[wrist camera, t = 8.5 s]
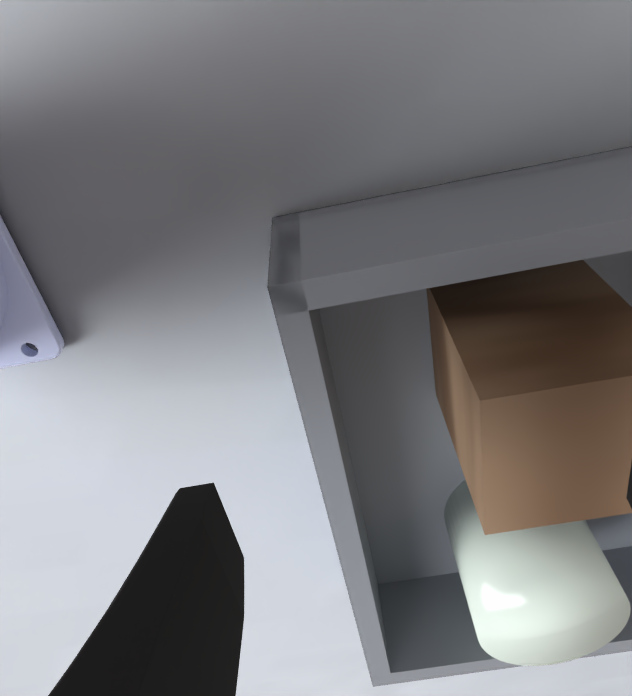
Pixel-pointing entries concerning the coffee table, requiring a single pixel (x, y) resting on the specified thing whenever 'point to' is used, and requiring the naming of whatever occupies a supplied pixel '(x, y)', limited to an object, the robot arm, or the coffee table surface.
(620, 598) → the pale green cylinder
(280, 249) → the tote
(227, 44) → the coffee table surface
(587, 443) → the walnut block
